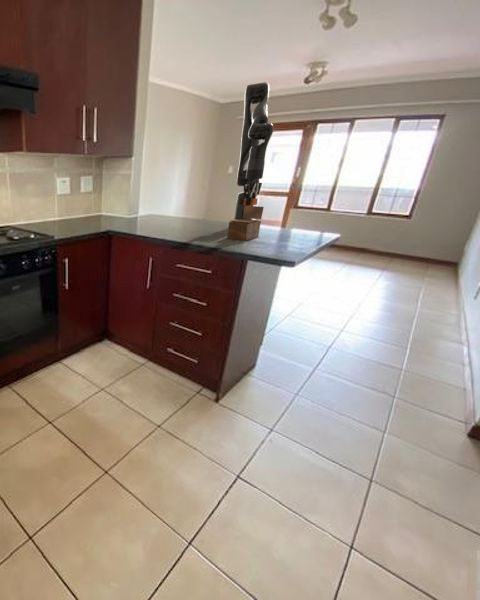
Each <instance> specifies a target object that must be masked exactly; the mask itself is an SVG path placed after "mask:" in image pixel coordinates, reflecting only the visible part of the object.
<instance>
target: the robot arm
mask: <svg viewBox="0 0 480 600" xmlns="http://www.w3.org/2000/svg"><path fill="white" fill-rule="evenodd" d="M269 98H270V84H269V82H257V83H256V82H255V83H250V84H247V86H246V87H245V91H244V103H243V105H244V106H243V108H244V109H243V122H242V130H241V140H240V154H239V162H238V169H237V176H236V185H237V186H238V187H243V191H241V192H239V193H238V194H237V198H236V204H235V211H234V219H248V220H253V219H251V218H243V213H244V207H245V206H254V205H250V203H251V198H255V199H257V196H259V195H260V192H261V189H262V185H263V182H260V180H262V179H263V177H264V172H265V171H264V169H265V165H266V164H265V162H266V155H267V154H266V153H267V148H268V145H269V143H270V140H271V138H272V136H273V134H274V130H275V129H274V128H275V127H274V124H273V123H271V122H269V113H268V108H269V100H270V99H269ZM252 105H256V106H255V107H254V109H253V110H252ZM261 141H262V142H261ZM244 199H246V205H243V204H244ZM234 219H233V220H234Z"/></svg>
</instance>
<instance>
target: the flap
mask: <svg viewBox="0 0 480 600" xmlns="http://www.w3.org/2000/svg"><path fill="white" fill-rule="evenodd" d="M263 213H264V206H260V205H259V206H258V205H253V206H245V207H244V213H243V218H251V219H252V220H262V218H263Z"/></svg>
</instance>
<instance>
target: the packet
mask: <svg viewBox="0 0 480 600" xmlns="http://www.w3.org/2000/svg"><path fill="white" fill-rule="evenodd" d="M258 200H259V199H258V198H256V199H255V198H251V203H250V205H253V206H258ZM243 205H246V199H244V204H243Z"/></svg>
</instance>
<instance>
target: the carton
mask: <svg viewBox="0 0 480 600" xmlns="http://www.w3.org/2000/svg"><path fill="white" fill-rule="evenodd" d="M261 222H262V221H261V220H260V219H252V220H248V219H230V220H229V222H228V229H227V235H226V239H231V240H238V241H249V240H252V239H256V238H259V236H260V228H261Z"/></svg>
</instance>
